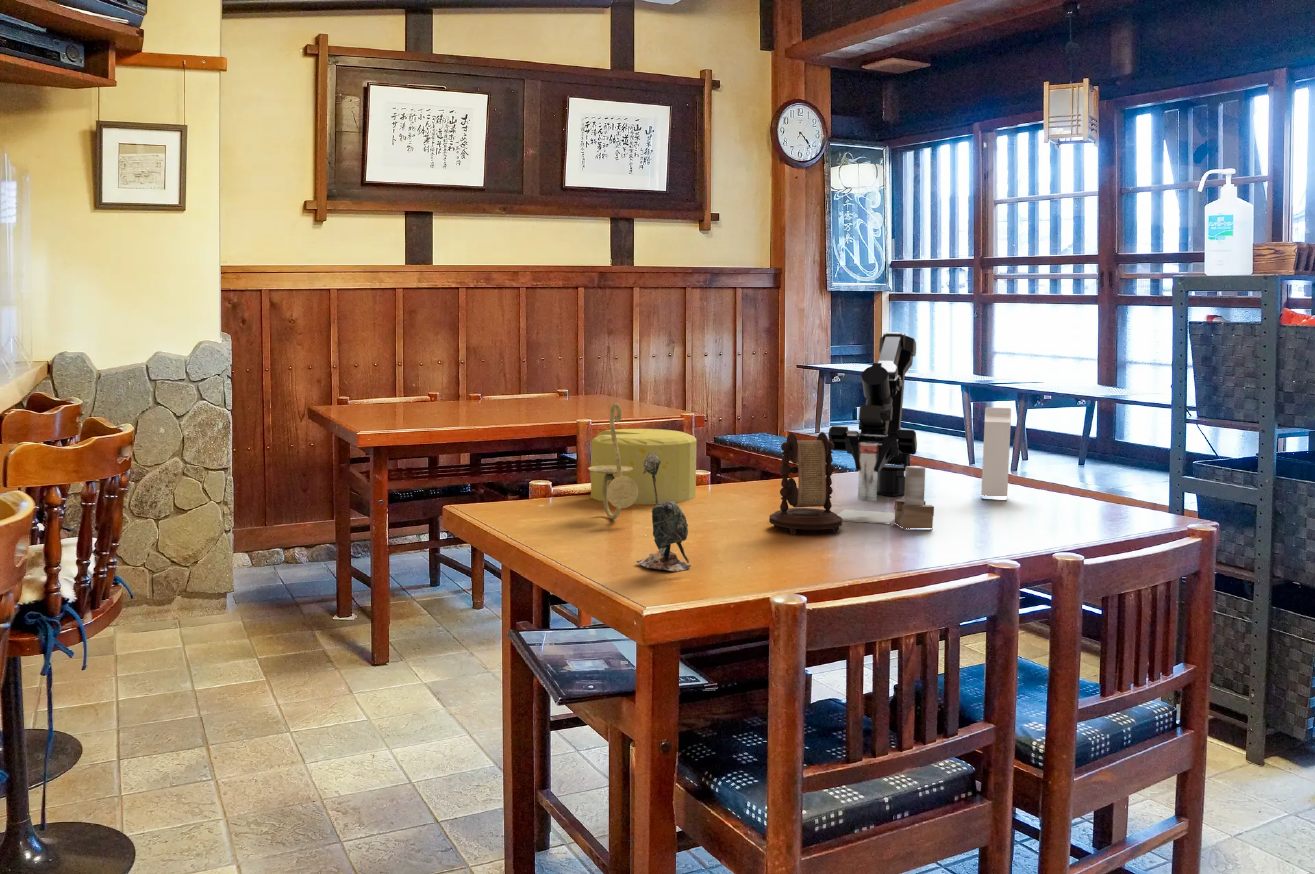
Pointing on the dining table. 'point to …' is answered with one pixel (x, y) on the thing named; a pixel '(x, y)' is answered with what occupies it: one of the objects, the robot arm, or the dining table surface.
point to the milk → (996, 451)
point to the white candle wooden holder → (914, 501)
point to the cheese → (634, 448)
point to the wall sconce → (622, 487)
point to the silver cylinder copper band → (868, 471)
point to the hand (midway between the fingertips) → (867, 470)
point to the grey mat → (866, 516)
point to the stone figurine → (665, 528)
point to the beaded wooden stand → (806, 486)
